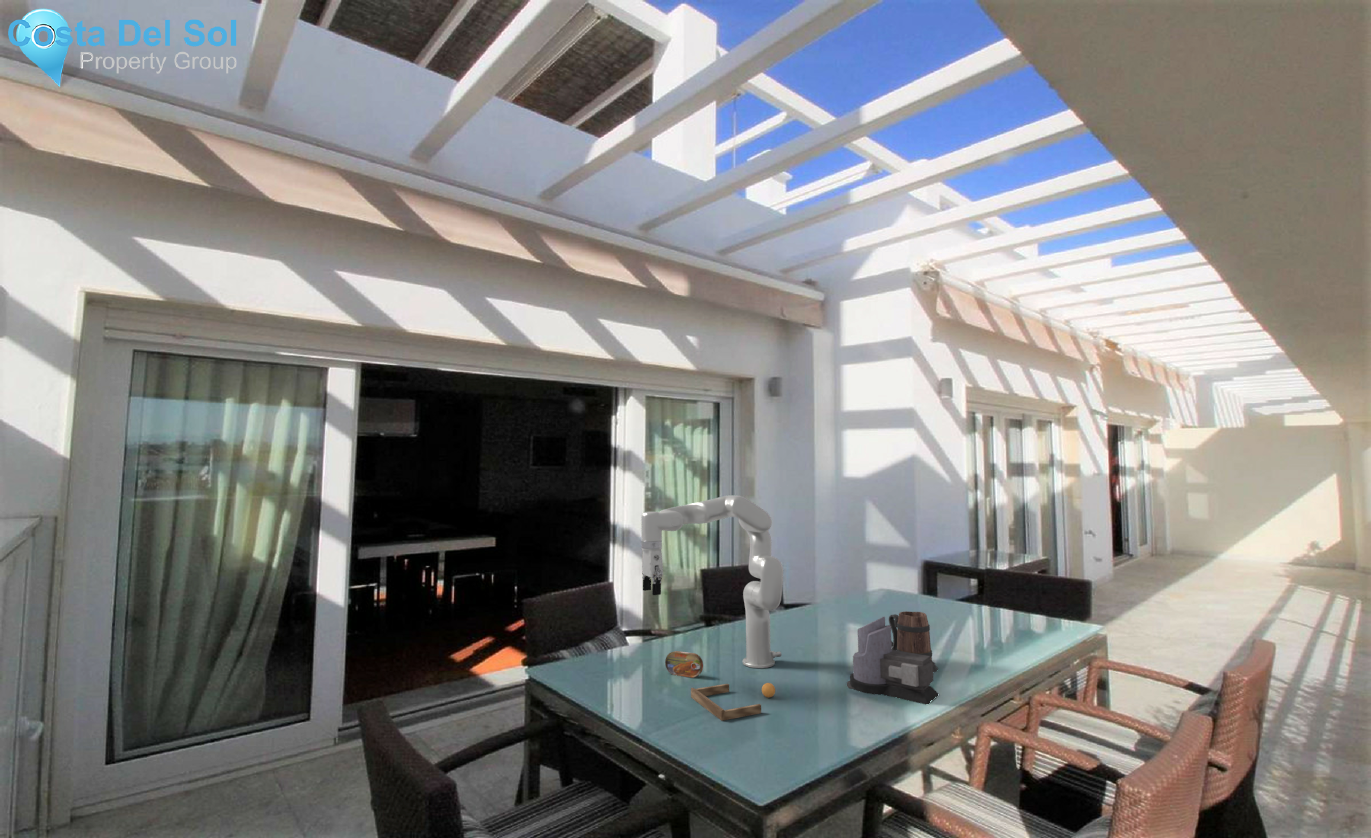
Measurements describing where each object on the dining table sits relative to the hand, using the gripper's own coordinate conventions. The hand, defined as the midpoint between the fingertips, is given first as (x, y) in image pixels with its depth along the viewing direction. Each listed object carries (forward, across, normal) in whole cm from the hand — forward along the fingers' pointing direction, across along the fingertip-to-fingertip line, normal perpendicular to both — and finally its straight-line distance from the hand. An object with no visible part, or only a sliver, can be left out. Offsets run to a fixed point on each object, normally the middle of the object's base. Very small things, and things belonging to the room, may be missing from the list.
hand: (651, 592), depth 228 cm
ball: (+29, -33, -29) cm, 53 cm away
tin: (+32, 0, -13) cm, 34 cm away
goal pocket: (+31, -33, -12) cm, 47 cm away
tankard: (+31, -26, -97) cm, 105 cm away
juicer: (+32, -45, -70) cm, 89 cm away
